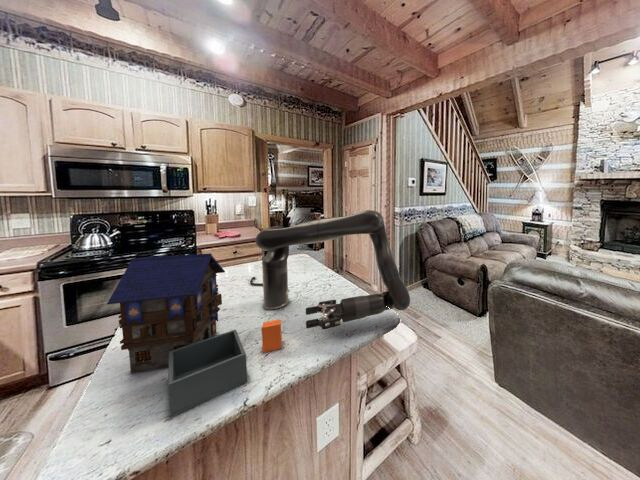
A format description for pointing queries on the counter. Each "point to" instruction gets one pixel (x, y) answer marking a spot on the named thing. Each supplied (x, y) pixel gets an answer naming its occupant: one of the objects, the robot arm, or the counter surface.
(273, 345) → the block
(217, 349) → the bin
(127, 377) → the counter surface
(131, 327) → the miniature building
